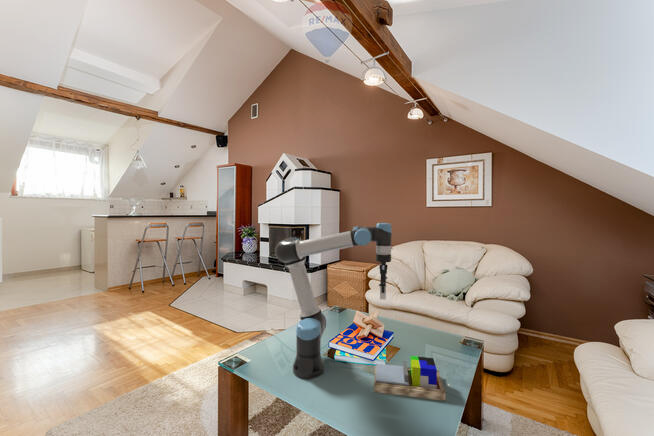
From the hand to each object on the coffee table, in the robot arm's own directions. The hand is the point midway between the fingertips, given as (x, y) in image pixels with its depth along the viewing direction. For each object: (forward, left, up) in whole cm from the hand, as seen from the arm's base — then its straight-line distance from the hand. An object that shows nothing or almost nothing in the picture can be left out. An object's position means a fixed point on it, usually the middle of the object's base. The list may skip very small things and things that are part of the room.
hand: (383, 295), depth 153 cm
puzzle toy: (+18, -17, -34) cm, 42 cm away
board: (+11, -17, -35) cm, 40 cm away
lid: (+5, -17, -31) cm, 36 cm away
